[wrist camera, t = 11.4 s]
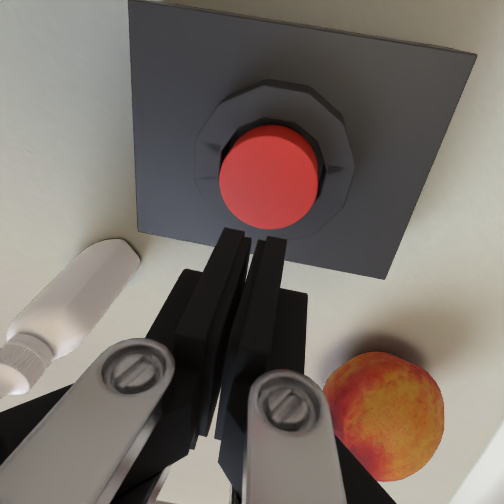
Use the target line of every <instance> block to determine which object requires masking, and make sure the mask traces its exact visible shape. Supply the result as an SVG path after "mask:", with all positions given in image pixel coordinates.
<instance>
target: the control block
mask: <svg viewBox="0 0 504 504" xmlns="http://www.w3.org/2000/svg"><path fill="white" fill-rule="evenodd" d="M128 15H129V38H130V62H131V85H132V109H133V132H134V156H135V180H136V203H137V227H138V232H142V233H147V234H152V235H157V236H163V237H168V238H173V239H178V240H183V241H188V242H193V243H198V244H204V245H209V246H214V247H215V246H216V244H217V242H218V239H219V237H220V235H221V233H222V231H223V229H224V227H226V228H231V229H237V230H242V231H245V237H249V238H252V242H251V249H250V254H254V251H255V248H256V245H257V241H258V239H259V240H264V241H266V238H267V236H272V237H277V238H282V239H287V246H286V252H285V258H284V260H286V261H291V262H296V263H301V264H306V265H311V266H316V267H322V268H327V269H332V270H337V271H342V272H347V273H352V274H357V275H363V276H368V277H373V278H378V279H383V280H385V278H386V276H387V274H388V271H389V269H390V266H391V264H392V261H393V259H394V257H395V254H396V252H397V249H398V247H399V245H400V242H401V240H402V237H403V235H404V232H405V230H406V228H407V225H408V223H409V220H410V218H411V215H412V213H413V211H414V208H415V206H416V203H417V201H418V199H419V196H420V194H421V191H422V189H423V186H424V184H425V182H426V179H427V177H428V174H429V172H430V170H431V167H432V165H433V162H434V160H435V157H436V155H437V153H438V150H439V148H440V145H441V143H442V140H443V138H444V136H445V133H446V131H447V128H448V126H449V124H450V121H451V119H452V116H453V114H454V111H455V109H456V107H457V104H458V102H459V99H460V97H461V94H462V92H463V90H464V87H465V85H466V82H467V80H468V78H469V75H470V73H471V70H472V68H473V65H474V63H475V61H476V58H477V54H474V53H470V52H465V51H461V50H457V49H452V48H448V47H441V46H435V45H429V44H423V43H416V42H410V41H404V40H397V39H391V38H385V37H379V36H372V35H366V34H360V33H354V32H347V31H341V30H335V29H328V28H322V27H316V26H310V25H303V24H297V23H291V22H285V21H278V20H272V19H266V18H259V17H253V16H247V15H241V14H234V13H228V12H222V11H216V10H209V9H203V8H197V7H190V6H184V5H178V4H172V3H165V2H158V1H148V0H128ZM263 125H281V126H285V127H288V128H290V129H292V130H294V131H296V132H298V133H299V134H300V135H302V136H303V137H304V138H305V139H306V140H307V141H308V142H309V144H310V145H311V147H312V149H313V150H314V153H315V155H316V158H317V162H318V191H317V195H316V199H315V201H314V203H313V205H312V207H311V208H310V210H309V211H308V212H307V214H306V215H305V216H304V217H302V218H301V219H300V220H299V221H297V222H296V223H294V224H292V225H289V226H287V227H283V228H279V229H262V228H257V227H254V226H251V225H249V224H247V223H245V222H243V221H241V220H240V219H238V218H237V217H236V216H235V215H234V214H233V213H232V212H231V211H230V210H229V208H228V207H227V205H226V204H225V202H224V200H223V197H222V195H221V191H220V186H219V175H220V170H221V166H222V164H223V161H224V159H225V158H226V156H227V155H228V153H229V152H230V150H231V149H232V147H233V145H234V144H235V142H236V141H237V140H238V139H239V138H240V137H241V136H242V135H243V134H244V133H246V132H247V131H249V130H251V129H253V128H255V127H259V126H263Z"/></svg>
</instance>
